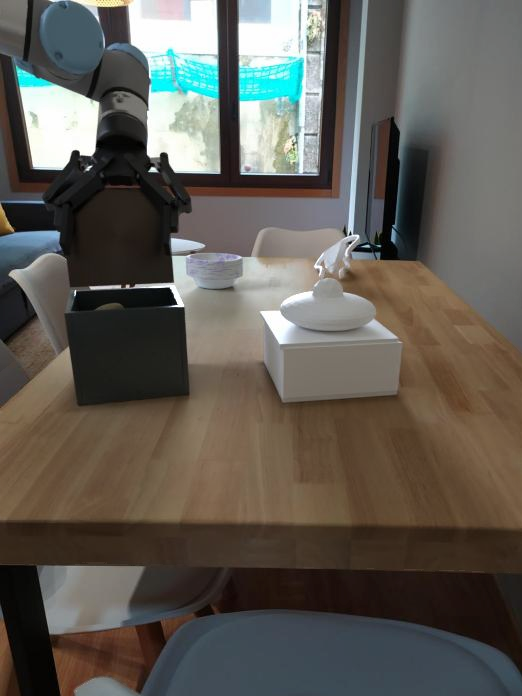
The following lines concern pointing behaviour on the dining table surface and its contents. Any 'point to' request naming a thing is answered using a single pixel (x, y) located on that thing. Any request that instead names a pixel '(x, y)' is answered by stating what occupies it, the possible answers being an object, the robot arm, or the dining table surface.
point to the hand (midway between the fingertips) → (116, 249)
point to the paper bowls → (214, 269)
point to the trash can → (127, 344)
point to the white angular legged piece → (337, 257)
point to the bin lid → (118, 240)
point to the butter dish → (329, 347)
